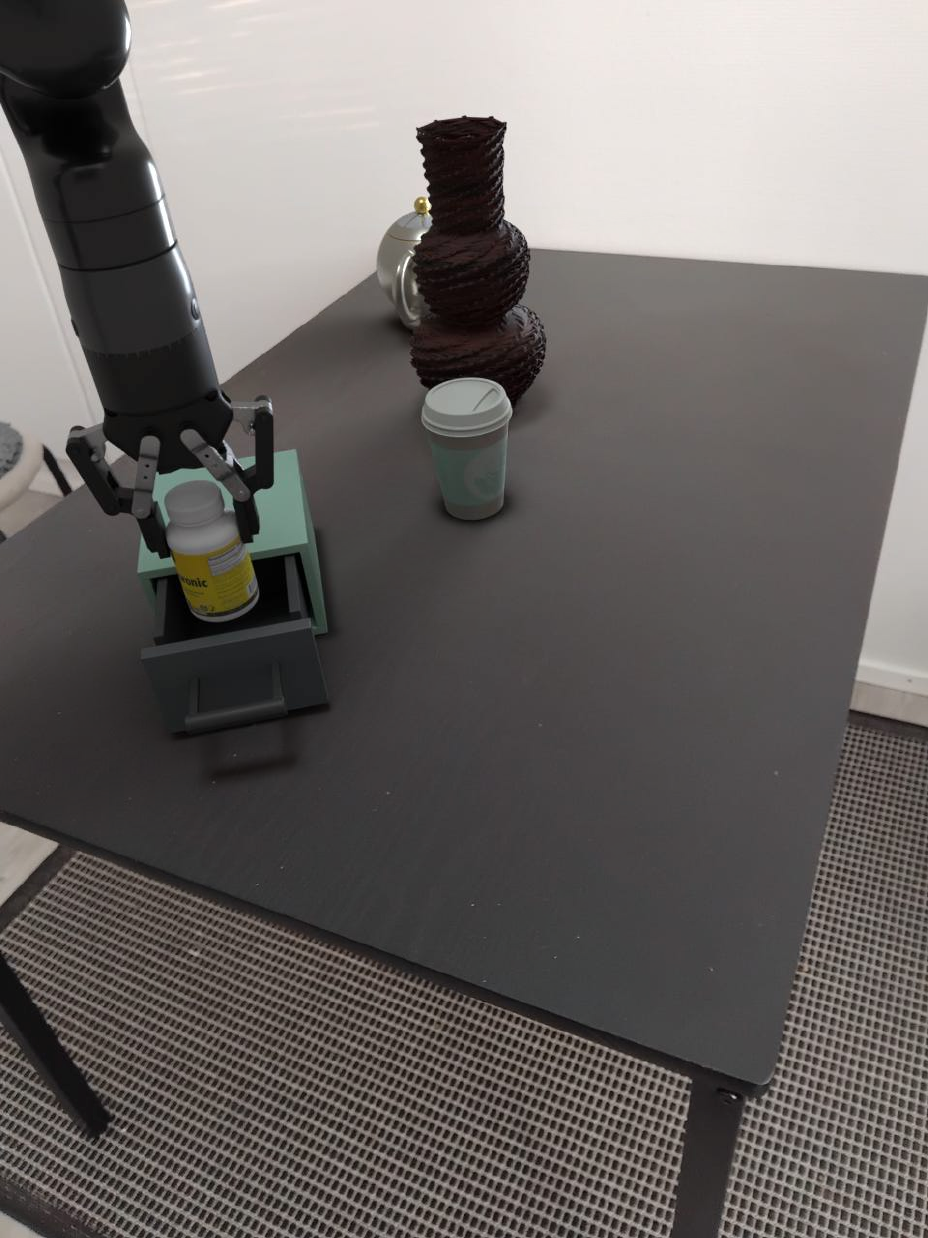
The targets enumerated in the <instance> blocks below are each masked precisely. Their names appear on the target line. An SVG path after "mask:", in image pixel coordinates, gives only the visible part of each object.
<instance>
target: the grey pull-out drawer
mask: <svg viewBox="0 0 928 1238" xmlns="http://www.w3.org/2000/svg"><path fill="white" fill-rule="evenodd" d="M251 562H252V565H253V569H254V573H255V576H256V580H257V584H258V588H259V597H258V600H257V602H256V604H255V605H254V606H253V608H251V609H250V610H249V611H248V612H247V613H245V614H243V615H242V616H240V617H237V618H235V619H232V620H229V621H224V622H209V621H204V620H202V619H199V618H198V617H196V616H195V615H194V614H193V613H192V612H191V610H190V608H189V605H188V603H187V600H186V597H185V594H184V591H183V588H182V585H181V582H180V579H179V576H178V574H173V575H168V576H162V577H158V582H157V594H156V607H155V619H154V618H153V620H154V621H153V633H152V639H153V641H154V644H155V646H150V647H144V648H141V650H140V661H141V664H142V666H143V669H144V671H145V674H146V677H147V680H148V682H149V684H150V687H151V689H152V692H153V694H154V697H155V699H156V702H157V704H158V707H159V709H160V712H161V715H162V718H163V720H164V722H165V725H166V728H167V729H168V732H169V734H174V733H179V732H183V731H186V733H187V734H188V735H193V734H194V735H195V734H199V733H205V732H209V731H215V730H220V729H226V728H231V727H235V726H240V725H246V724H250V723H251V724H252V723H256V722H261V721H266V720H271V719H272V720H273V719H276V718H282V717H286V716H288V711H293V710H298V709H302V708H308V707H314V706H318V705H323V704H329V702H330V700H329V692H328V689H327V684H326V680H325V675H324V671H323V667H322V662H321V658H320V655H319V654H320V653H319V650H318V645H317V641H316V637H315V635H314V633H313V628H312V624H311V620H310V616H309V607H308V598H307V590H306V586H305V582H304V578H303V573H302V569H301V565H300V560H299V556H298V552H297V553H291V554H286V555H280V556H274V557H269V558H263V559H257V560H252V561H251Z"/></svg>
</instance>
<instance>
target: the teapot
mask: <svg viewBox="0 0 928 1238" xmlns="http://www.w3.org/2000/svg"><path fill="white" fill-rule="evenodd" d="M413 208H414V210H413V211H411V212H408V213H405V214H404V215H402V216H401V217H399V218H398V219H396V220H395V221H394V222H393V223H392V224H390V226H389V227H388V228H387V230H386V231H385V232H384V234H383V236H382V238H381V240H380V242H379V245H378V249H377V254H376V262H375V263H376V274H377V279H378V282H379V284H380V287H381V290H382V291H383V293H384V295H385V296H386V297H387V299H388V300H389V301H390V303H391V304H392V305H393V306H394V307H395V311H396V312H397V316H398V317H399V318H400V319H401V322H402V324H403V326H405V327H406V328H407V329H408V330H411V331H413V329H415V328H416V327H418V326H419V324H420V319H421V318H422V317H423V316H424V315H428V314H429V313H432V312H430V311H429V310H428V309H430V305H429V304H426V303H425V302H424V299H425V297H424V296H423V295H422V294H419V292H418V288H420V287H421V285H420V284H418V283H416V281H415V279H416V278H417V275H416V274H415V273H414V272H413V271H412V268H414V266H416V265H417V264H416V263H415V262H413V261H412V257H413V256H414V255H415V250H414V248H413V247H414V246H415V245H418V244H419V243H420V242H421V238H420V236H421V235H422V234H423V233H426V232H428V230H429V229H430V227H431V226H432V225H433V224H432V222H431V220H432V219H433V218H432V216H431V215H430V214H429V210H430V209H431V204H430V203H429V202H428V197H425V196H418V197H417V198H416V199H415V200H414V203H413ZM439 229H440V228H439ZM428 318H429V317H428Z"/></svg>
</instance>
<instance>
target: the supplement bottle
mask: <svg viewBox="0 0 928 1238" xmlns="http://www.w3.org/2000/svg"><path fill="white" fill-rule="evenodd" d="M164 504H165V507H166V510H167V514H168V517H169V518H170V522H169V523H168V525H167V527H166V532H165V536H166V541H167V544H168V548H169V550H170V553H171V556H172V559H173V562H174V565H175V567H176V570H177V573H178V576H179V579H180V582H181V585H182V588H183V591H184V594H185V597H186V600H187V603H188V605H189V608H190V610H191V612H192V613H193V614H194V615H195V616H196V617H198V618H199V619H202V620H204V621H209V622H224V621H229V620H232V619H235V618H237V617H240V616H242V615H243V614H245V613H247V612H248V611H249V610H250V609H251V608H253V606H254V605H255V604H256V602H257V600H258V597H259V588H258V584H257V580H256V576H255V573H254V569H253V565H252V562H251V559H250V555H249V552H248V548H247V544H244V543H243V540H242V536H241V532H240V529H239V525H238V521H237V518H236V514H235V512H234V511H233V510H232V509H231V508H229V507H227V506H225V503H224V499H223V496H222V492H221V489H220V487H219V486H218V485H217V484H216V483H214V482H212V481H208V480H193V481H188V482H184V483H182V484H179V485H177V486H176V487H174V488H172V489H171V490H170V491H169V492H168V493H167V494H166V496H165V498H164Z"/></svg>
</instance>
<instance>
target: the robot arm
mask: <svg viewBox="0 0 928 1238" xmlns="http://www.w3.org/2000/svg"><path fill="white" fill-rule="evenodd" d="M130 17H131V16H130V14H129V10H128V7H127V4H126V1H125V0H0V107H1V109H2V112H3V114H4V116H5V118H6V121H7V123H8V125H9V128H10V130H11V132H12V134H13V137H14V139H15V140H16V143H17V145H18V147H19V150H20V152H21V154H22V156H23V157H22V158H23V160H24V162H25V166H26V169H27V173H28V175H29V179H30V183H31V186H32V190H33V195H34V199H35V202H36V205H37V209H38V213H39V214H40V217H41V221H42V222H43V226H44V229H45V232H46V234H47V237H48V240H49V244H50V246H51V249H52V252H53V255H54V258H55V260H56V264H57V268H58V271H59V275H60V280H61V285H62V291H63V294H64V295H63V296H64V300H65V303H66V307H67V309H68V312H69V314H70V323H71V326H72V329H73V332H74V334H75V336H76V337H77V338H78V340H79V343H80V347H81V349H82V352H83V355H84V358H85V360H86V363H87V366H88V369H89V372H90V376H91V378H92V381H93V383H94V384H93V385H94V387H95V389H96V392H97V396H98V398H99V401H100V404H101V406H102V409H103V415H104V416H103V422H100V423H98V424H95V425H92V426H89V427H85V426H83V425H73V426H72V427H70V430H69V433H68V435H67V439H66V445H65V449H64V451H65V454H66V455H67V457H68V458H69V460H70V462H71V463H72V465H73V466H74V468H75V469H76V471H77V472H78V475H80V477H81V478H82V480H83V482H84V483H85V484H86V487H87V488H88V489H89V491H90V493H91V494H92V496H93V497H94V499H95V501H96V502H97V504H98V505H99V507H100V508H101V510H102V512H103V513H104V514H105V515H107V516H111V517H116V516H118V515H120V514H127V515H131V516H132V517H134V518H135V519H136V521H137V524H138V527H139V530H140V533H141V532H142V535H143V538H144V541H145V544H146V547H147V549H148V550H149V551H150V552H151V553H156V552H158V555H159V558H160V559H164V558H170V557H171V553H170V550H169V548H168V544H167V541H166V536H165V532H166V525H165V522H164V519H163V516H162V513H161V510H160V507H159V504H158V501H153V498H152V495H153V490H154V483H155V476H156V472H158V473H159V475H163V474H169V473H172V472H175V471H177V470H179V469H199V468H206V469H207V470H208V471H209V473H210V474H211V475H212V476H213V477H214V478H215V480H216V481H218V482H219V481H220V482H221V483H222V484H223V485H224V487H225V488H226V489H227V490H228V491H229V493H230V494H231V495H232V497H233V507H234V511H235V514H236V518H237V521H238V525H239V529H240V532H241V536H242V540H243V543H244V544H248V543H254V537H253V535H257V534H259V531H260V518H259V514H258V510H257V506H256V502H255V498H254V494H255V493H256V492H257V491H258V490H260V489H269V488H271V487H272V486H273V485H274V453H275V451H274V450H275V445H274V444H275V443H274V442H275V441H274V440H275V433H274V432H275V431H274V430H275V429H274V427H275V426H274V424H275V423H274V419H275V418H274V410H273V401H272V399H271V398H270V396H268V395H265V394H261V395H260V394H259V395H258V396H256V397H255V399H254V400H253V401H232V399H231V398H230V396H228V394H226V392H225V391H224V390H223V388H222V386H221V385H220V381H219V378H218V374H217V370H216V366H215V362H214V358H213V354H212V351H211V347H210V343H209V338H208V336H207V332H206V328H205V324H204V320H203V316H202V313H201V310H200V305H199V302H198V298H197V294H196V289H195V286H194V283H193V279H192V276H191V273H190V270H189V267H188V265H187V262H186V260H185V258H184V256H183V253H182V250H181V247H180V244H179V241H178V238H177V234H176V230H175V226H174V224H173V223H174V222H173V218H172V215H171V211H170V208H169V203H168V200H167V196H166V193H165V189H164V186H163V182H162V179H161V176H160V172H159V169H158V166H157V164H156V161H155V159H154V157H153V155H152V153H151V151H150V149H149V148H148V146H147V144H146V143H145V142H144V140H143V139H142V137H141V135H140V134H139V132H138V131H137V129H136V127H135V125H134V123H133V120H132V118H131V113H130V110H129V106H128V101H127V99H126V95H125V93H124V89H123V85H122V82H121V78H120V76H121V75H122V73H123V71H124V69H125V67H126V66H127V63H128V60H129V57H130V53H131V48H132V38H133V37H132V23H131V18H130ZM233 421H236V422H239V423H240V425H241V426H242V430H243V432H244V433H245V434H246V435H248V436H251V437H254V456H255V464H254V465H253V466H251V467H249V468H247V469H245V468H244V467H243V466H242V465H241V463H240V462H239V461H238V460H237V459H238V458H237V457H236V455H235V454H234V452H233V449H232V448H231V446H230V445H229V444H228V442H226V440H225V437H226V436H227V433H228V431H229V428H230V427H231V425H232V423H233ZM107 442H109V443H110V444H112V445H113V446H114V447H116V448H117V449H119V451H121V452H123V453H124V454H125V455H127V456H128V457H129V458H131V459H132V460H134V461H135V462H136V463H137V468H136V474H135V482H134V488H131V487H123V486H122V484H121V482H120V481H119V479H118V478H117V476H116V474H115V472H114V471H113V470H112V468H111V466H110V465H109V462H108V461H107V460H106V458H105V456H106V451H107V445H106V443H107Z"/></svg>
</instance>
